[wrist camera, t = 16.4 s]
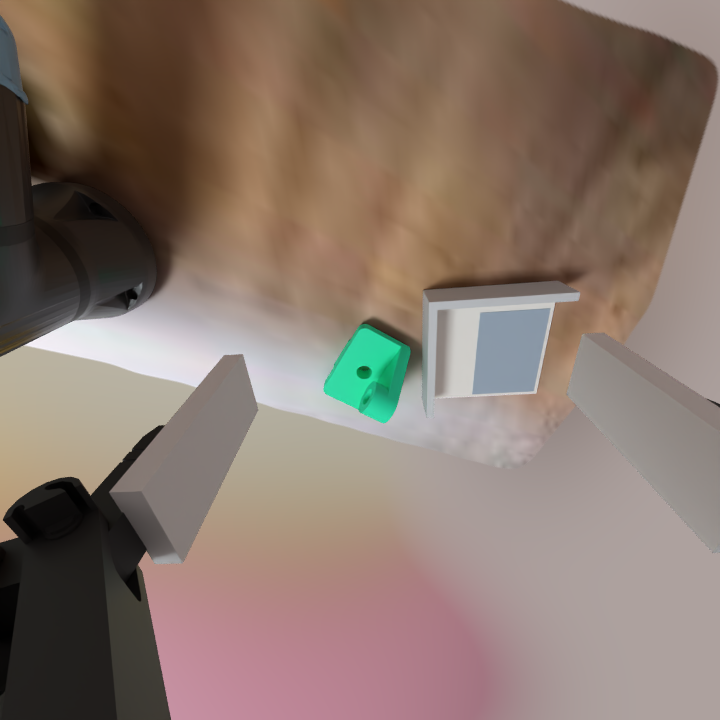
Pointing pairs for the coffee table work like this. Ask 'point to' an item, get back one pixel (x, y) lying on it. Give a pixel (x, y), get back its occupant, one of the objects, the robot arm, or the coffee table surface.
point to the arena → (486, 339)
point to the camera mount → (370, 373)
